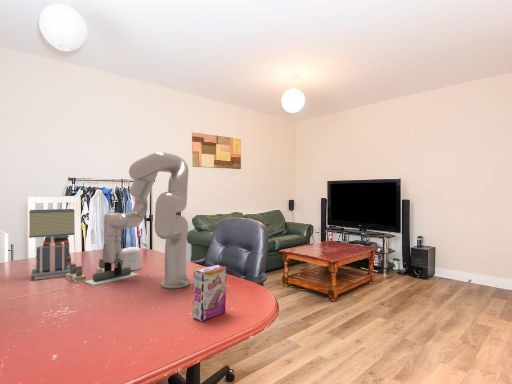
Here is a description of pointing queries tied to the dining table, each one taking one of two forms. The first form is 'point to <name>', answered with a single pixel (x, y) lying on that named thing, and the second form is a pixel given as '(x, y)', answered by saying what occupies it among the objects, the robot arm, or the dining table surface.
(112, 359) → the dining table surface
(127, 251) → the photo printer
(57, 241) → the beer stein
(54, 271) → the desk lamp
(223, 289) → the candy bar box
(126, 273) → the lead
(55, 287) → the dining table surface
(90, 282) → the mat
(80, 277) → the clamp board
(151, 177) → the robot arm
